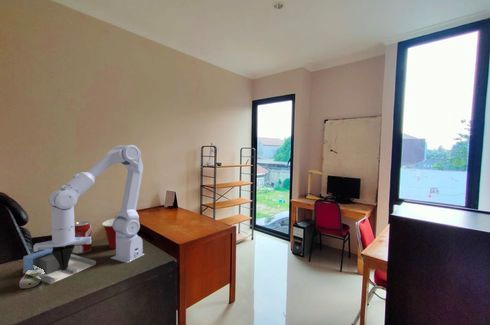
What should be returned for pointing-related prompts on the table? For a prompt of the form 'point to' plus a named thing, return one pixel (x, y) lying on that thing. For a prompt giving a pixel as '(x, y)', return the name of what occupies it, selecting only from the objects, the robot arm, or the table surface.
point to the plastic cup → (110, 233)
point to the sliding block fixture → (73, 267)
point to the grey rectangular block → (47, 263)
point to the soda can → (83, 231)
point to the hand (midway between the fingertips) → (64, 268)
